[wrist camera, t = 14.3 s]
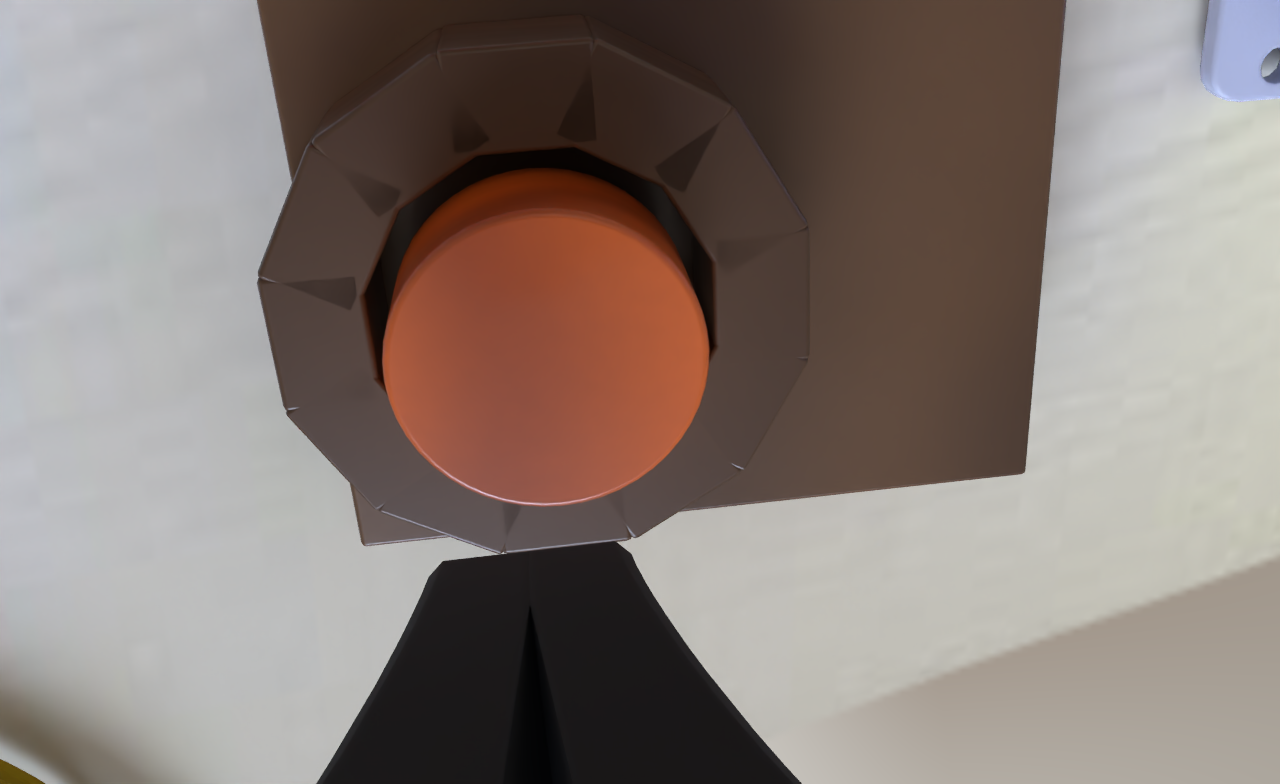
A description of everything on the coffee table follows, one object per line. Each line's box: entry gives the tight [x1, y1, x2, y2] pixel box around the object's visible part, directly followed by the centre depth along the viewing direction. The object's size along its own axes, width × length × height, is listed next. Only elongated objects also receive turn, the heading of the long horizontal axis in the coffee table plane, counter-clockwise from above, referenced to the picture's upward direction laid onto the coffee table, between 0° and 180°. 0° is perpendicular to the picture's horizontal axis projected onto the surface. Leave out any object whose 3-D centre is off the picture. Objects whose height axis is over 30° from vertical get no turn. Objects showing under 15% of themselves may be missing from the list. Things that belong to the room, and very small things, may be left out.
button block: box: [257, 0, 1066, 554], centre depth 16 cm, size 10×8×4 cm
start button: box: [382, 168, 710, 507], centre depth 14 cm, size 4×4×2 cm
